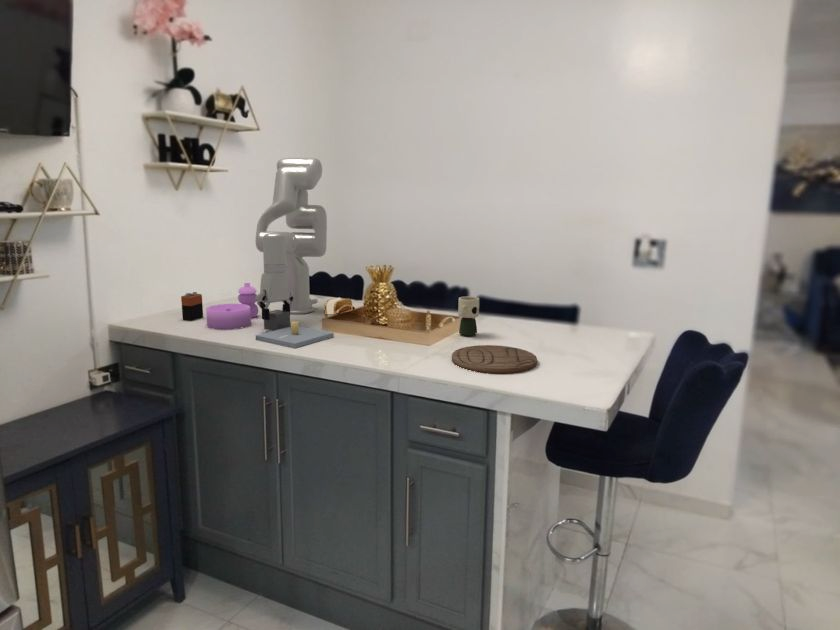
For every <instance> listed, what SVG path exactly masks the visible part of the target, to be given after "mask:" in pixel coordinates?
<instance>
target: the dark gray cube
mask: <svg viewBox="0 0 840 630" xmlns="http://www.w3.org/2000/svg"><path fill="white" fill-rule="evenodd" d="M269 316H270V319H269V320H263V328H264V330H266V329H268V331H271V330H272V331H275V330H279V329H283V328H287V327H291V314H290V312H288V311H283V310H282V309H273V310H269Z"/></svg>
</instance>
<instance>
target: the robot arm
mask: <svg viewBox="0 0 840 630" xmlns="http://www.w3.org/2000/svg"><path fill="white" fill-rule="evenodd" d="M276 170H277V171H276V173H275V179H274V189H273V197H272V204H271V205H270V206H269V207H267V209H265V210H264V212H263V213H262V214H261V216H260V217H259V219H258V221H257V225H256V231H255V247H256V249H257V250H258V252H260V253H262V255H263V260H262V261H263V273H262V274H261V277H260V287H259V291H260V292H259V293H258V294H256V295H257V296H256V297H255V299H256V303H257V304H256V305H257V306H258V307H259V308H260V309H261V319H262V320H263V321H264V320H269V319H270V316H269V311H270V308H269V306H270V305H271V303H278V302H282V303H283V304H282V308H281V310H283V311H288V312H290V315H300V314H301V315H302V314H308V313H313V312H314V311H315V308H314V307H313V306H312V305H315V304H318V302H319V300H318V299H317V298H313V299H312V298H310V297H311V296H310V268H309V267H310V266H309V265H308V263H307V262H306V260H305V259H304V258H309V257H310V258H319V257H320V258H322V257H323V256H324V255H326V252H327V238H328V236H327V235H328V233H327V228H328V227H327V226H328V223H327V222H328V221H327V220H328V219H327V212H326V209H325V208H324V207H323V206H322V205H320V204H318V205H317V204H309V193H308V191H310V190H311V191H312V190H314V189H315V187H317V185H318V183H319V181H320V180H321V178H322V174H323V165H322V162H321V161H320V160H319V158H316V157H315V158H313V157H284V158H280V159H279V160H277V163H276ZM283 217H285V223H286V225H287V227H288V228H290V229H294V230H313V231H314V232H302V231H301V232H300V231H297V232H296V231H295V232H289V231H267V230H268V228H269V227H270V225H271V224H272V223H274V222H275V221H276V220H278V219H280V218H283Z"/></svg>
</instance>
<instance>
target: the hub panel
mask: <svg viewBox="0 0 840 630" xmlns="http://www.w3.org/2000/svg"><path fill="white" fill-rule="evenodd" d="M334 336H335V333H334V332H331V331H326V330H321V329H316V328H313V327H306V326H302V325H299V321H290V327H287V328H283V329H279V330H275V331H271V330H270V331H267V332H264V333H263V332H262V333H260V334H256V335H255V340H256V341H260V342H266V343H271V344H273V343H274V345H278V344H279V345H278V346H282V345H284V347H287V346H288V347H287V348H291V347H292V348H293V349H298V348H300V346H301V347H304V346H308V345H310V344H314V342H315V343H318V342H321V340H322V341H325V340H328V338H329V339H331V338H334ZM324 339H325V340H324ZM307 344H308V345H307ZM303 345H304V346H303ZM297 347H298V348H297ZM292 348H291V349H292Z"/></svg>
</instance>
